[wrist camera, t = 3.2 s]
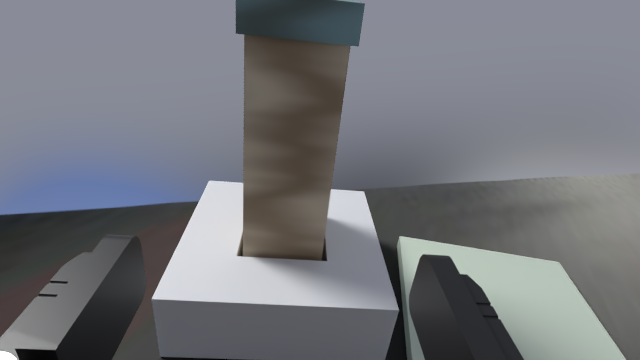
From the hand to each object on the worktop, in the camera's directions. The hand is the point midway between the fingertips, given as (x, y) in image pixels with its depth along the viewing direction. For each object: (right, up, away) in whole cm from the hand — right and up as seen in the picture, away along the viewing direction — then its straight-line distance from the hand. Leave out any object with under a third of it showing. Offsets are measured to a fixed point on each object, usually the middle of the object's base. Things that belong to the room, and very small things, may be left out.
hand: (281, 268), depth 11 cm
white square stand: (-1, -4, +14) cm, 14 cm away
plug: (-2, -4, +14) cm, 14 cm away
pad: (+12, -6, +13) cm, 19 cm away
